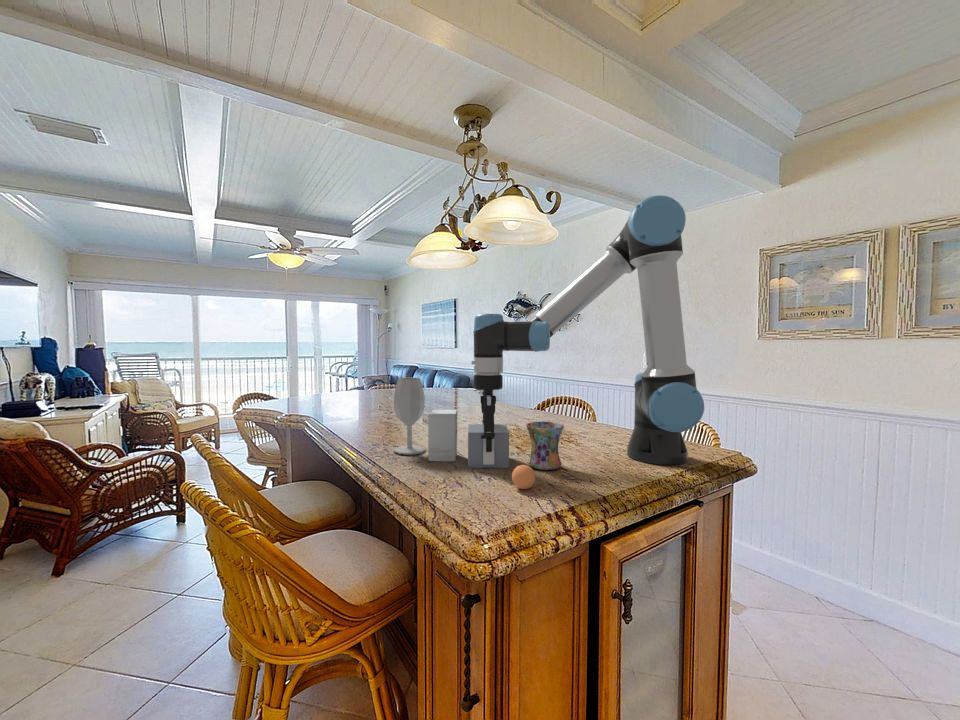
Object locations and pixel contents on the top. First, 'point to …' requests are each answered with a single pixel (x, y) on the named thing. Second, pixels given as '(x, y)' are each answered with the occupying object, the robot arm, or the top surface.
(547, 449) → the mug
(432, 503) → the top surface
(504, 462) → the gray tilted carton
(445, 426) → the supplement box
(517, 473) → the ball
